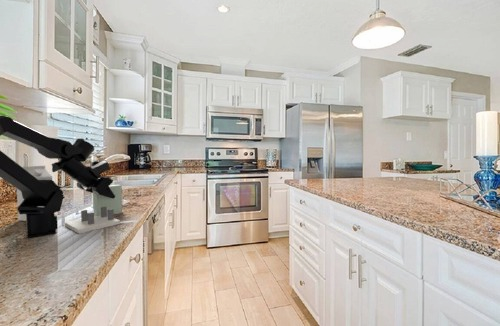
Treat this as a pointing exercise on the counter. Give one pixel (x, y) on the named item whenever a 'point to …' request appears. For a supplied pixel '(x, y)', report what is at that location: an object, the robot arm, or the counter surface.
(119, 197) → the grey upright panel
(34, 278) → the counter surface
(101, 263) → the counter surface
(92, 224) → the cabinet base
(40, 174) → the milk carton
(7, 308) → the counter surface
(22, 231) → the counter surface
